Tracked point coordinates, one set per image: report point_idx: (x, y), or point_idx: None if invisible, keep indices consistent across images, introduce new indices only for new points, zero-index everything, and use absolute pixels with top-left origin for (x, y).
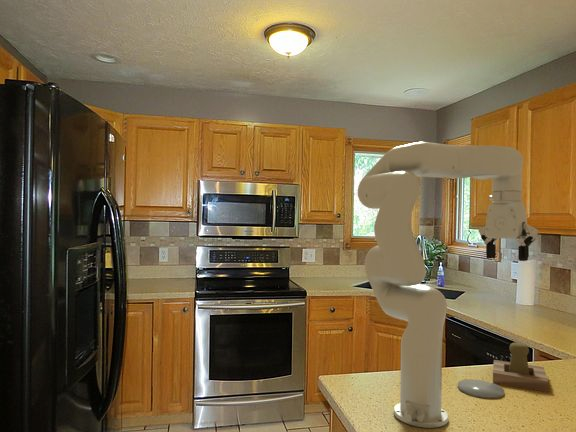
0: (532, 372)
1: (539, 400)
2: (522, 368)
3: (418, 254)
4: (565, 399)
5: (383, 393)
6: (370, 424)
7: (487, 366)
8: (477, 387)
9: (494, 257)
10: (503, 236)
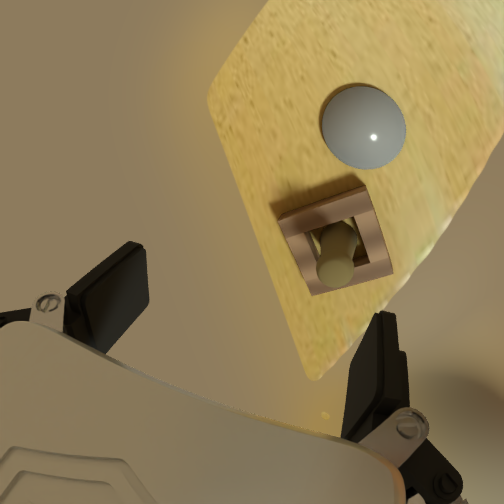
0: None
1: (274, 162)
2: (326, 239)
3: None
4: (251, 202)
5: None
6: None
7: (405, 271)
8: (367, 121)
9: (353, 358)
10: (118, 374)
